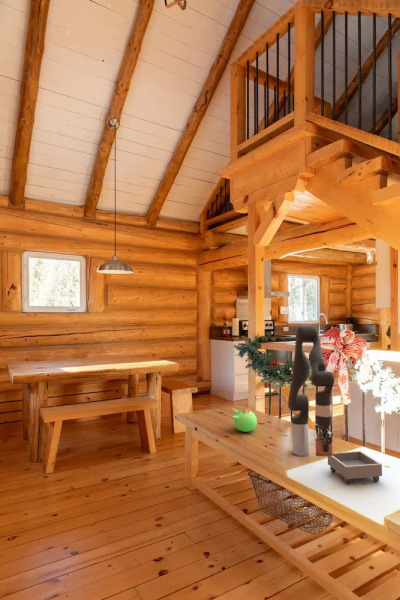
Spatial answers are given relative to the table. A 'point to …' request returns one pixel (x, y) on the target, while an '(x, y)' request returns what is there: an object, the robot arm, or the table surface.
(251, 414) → the green apple
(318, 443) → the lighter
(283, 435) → the table surface
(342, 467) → the cart
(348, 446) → the table surface
